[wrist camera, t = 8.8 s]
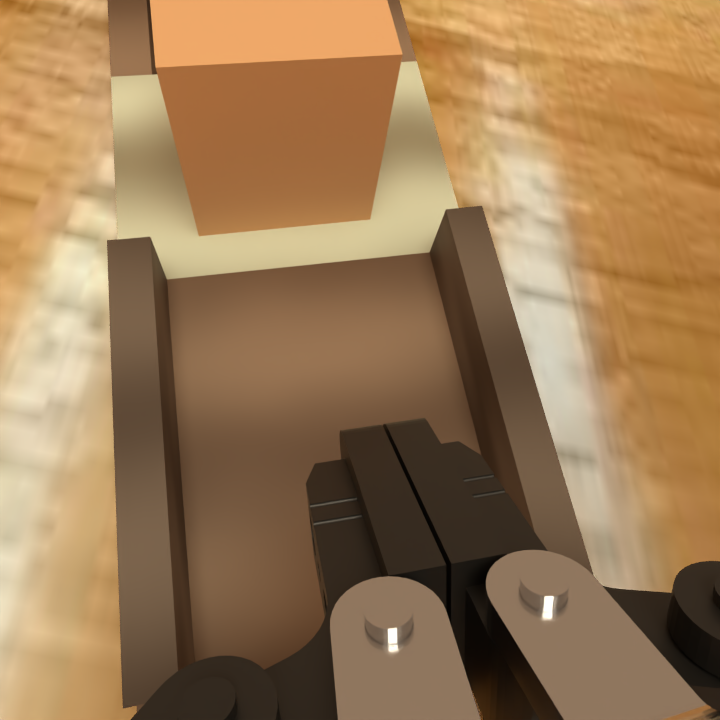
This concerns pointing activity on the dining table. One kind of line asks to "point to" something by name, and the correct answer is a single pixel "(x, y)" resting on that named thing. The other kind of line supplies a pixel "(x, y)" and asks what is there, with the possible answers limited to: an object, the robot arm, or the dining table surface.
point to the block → (277, 107)
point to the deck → (289, 375)
